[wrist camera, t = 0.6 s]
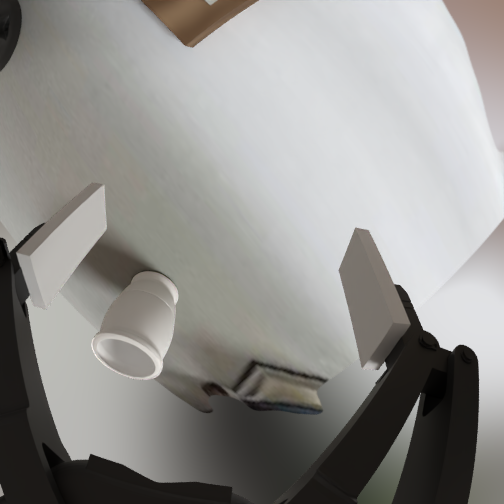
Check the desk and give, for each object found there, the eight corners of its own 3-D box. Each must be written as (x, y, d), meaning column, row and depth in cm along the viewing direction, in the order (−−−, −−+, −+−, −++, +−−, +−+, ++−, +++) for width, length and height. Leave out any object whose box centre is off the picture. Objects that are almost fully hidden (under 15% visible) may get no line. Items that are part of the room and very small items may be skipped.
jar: (131, 307, 54) (101, 372, 41) (121, 261, 48) (82, 327, 35) (186, 315, 54) (166, 386, 41) (183, 268, 48) (156, 342, 35)
